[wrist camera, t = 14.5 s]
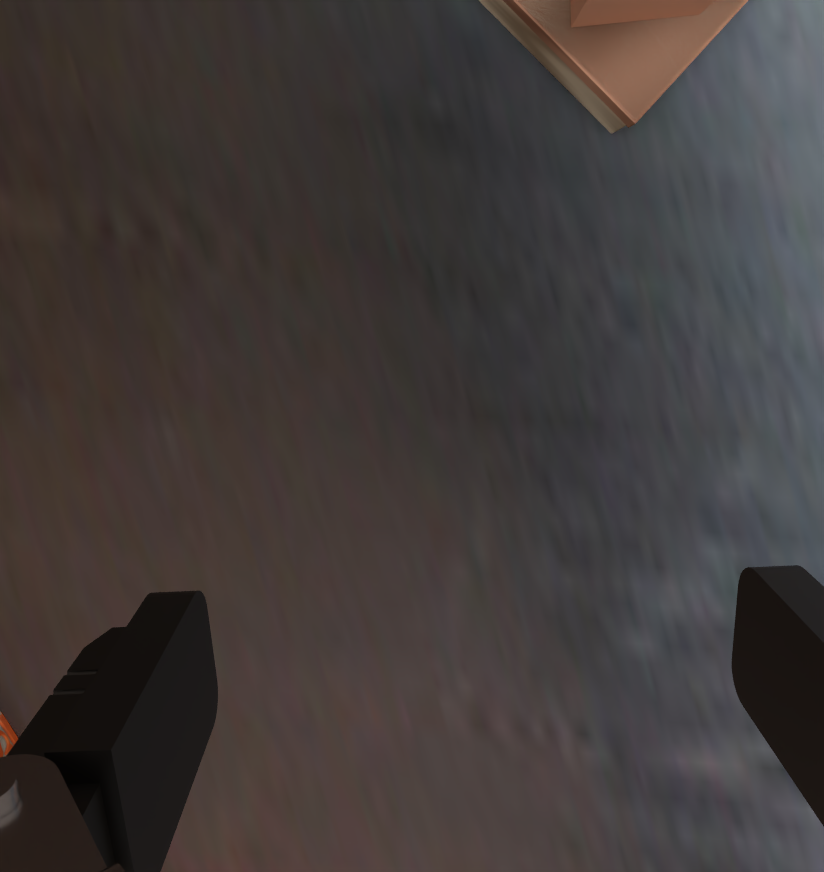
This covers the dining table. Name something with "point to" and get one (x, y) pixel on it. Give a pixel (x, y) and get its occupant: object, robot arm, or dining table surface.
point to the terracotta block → (631, 10)
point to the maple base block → (612, 52)
